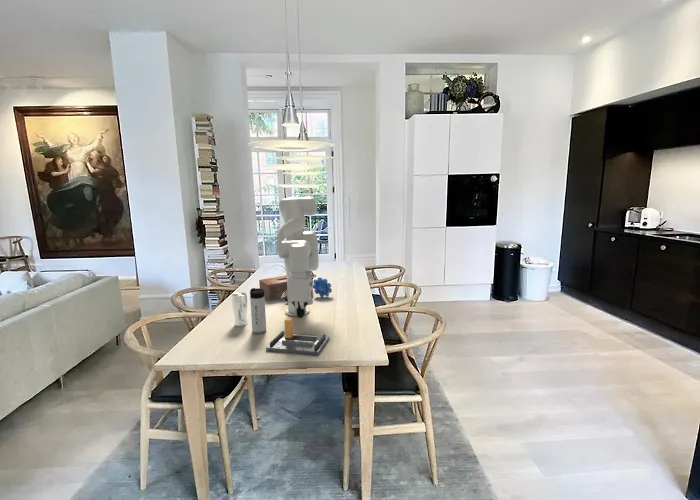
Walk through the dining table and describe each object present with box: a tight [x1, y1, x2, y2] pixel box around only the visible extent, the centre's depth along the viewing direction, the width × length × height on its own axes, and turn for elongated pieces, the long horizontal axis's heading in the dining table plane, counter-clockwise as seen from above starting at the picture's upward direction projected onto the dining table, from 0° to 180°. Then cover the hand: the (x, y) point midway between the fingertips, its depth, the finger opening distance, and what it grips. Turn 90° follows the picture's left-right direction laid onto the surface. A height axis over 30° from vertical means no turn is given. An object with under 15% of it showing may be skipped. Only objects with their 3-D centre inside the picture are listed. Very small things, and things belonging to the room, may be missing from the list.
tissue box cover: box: [258, 275, 287, 302], centre depth 225 cm, size 26×14×10 cm, turn 125°
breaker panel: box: [265, 332, 330, 356], centre depth 152 cm, size 16×22×3 cm
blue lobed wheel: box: [312, 277, 333, 298], centre depth 217 cm, size 12×7×12 cm, turn 88°
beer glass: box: [231, 291, 248, 327], centre depth 175 cm, size 7×7×15 cm
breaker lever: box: [284, 317, 294, 340], centre depth 152 cm, size 4×3×9 cm
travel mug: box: [249, 287, 267, 335], centre depth 165 cm, size 6×7×20 cm
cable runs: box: [269, 330, 327, 350], centre depth 152 cm, size 13×20×1 cm, turn 77°
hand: (300, 316), depth 151 cm, fingers closed
